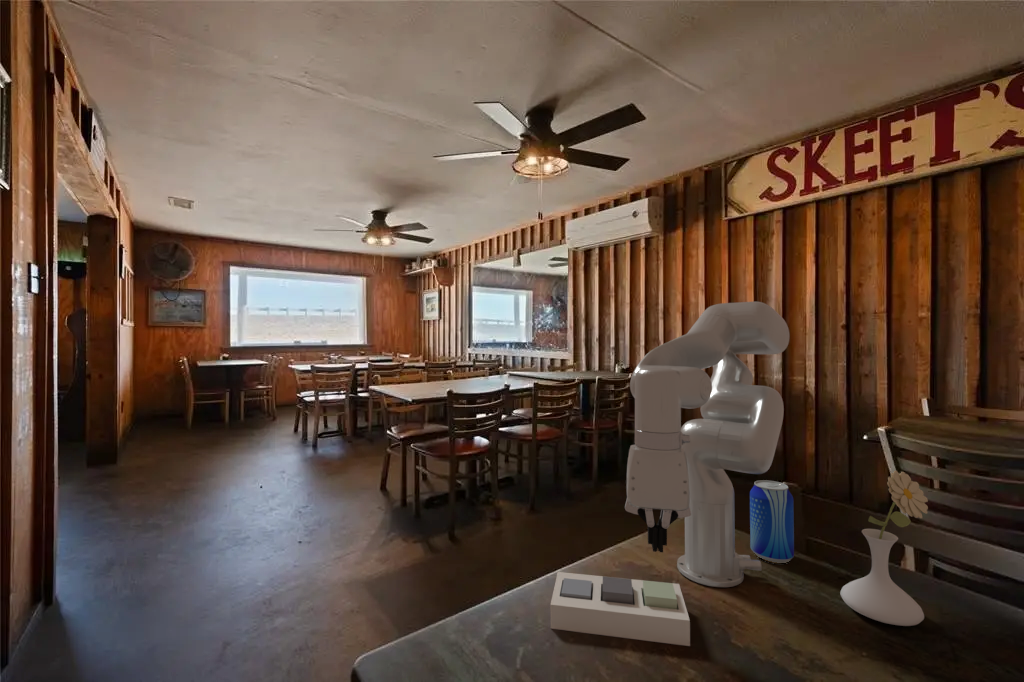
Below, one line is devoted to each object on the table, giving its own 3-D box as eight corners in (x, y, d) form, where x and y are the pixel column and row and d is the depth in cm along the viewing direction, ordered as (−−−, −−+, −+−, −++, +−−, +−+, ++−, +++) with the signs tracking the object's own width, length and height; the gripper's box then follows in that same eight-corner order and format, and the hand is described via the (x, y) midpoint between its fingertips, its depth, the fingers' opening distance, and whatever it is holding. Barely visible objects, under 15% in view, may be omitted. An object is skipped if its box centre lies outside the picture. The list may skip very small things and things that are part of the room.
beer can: (800, 567, 95) (800, 491, 95) (757, 564, 97) (756, 489, 97) (785, 549, 103) (784, 480, 104) (745, 546, 105) (744, 478, 105)
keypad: (679, 606, 81) (679, 583, 82) (690, 646, 71) (689, 620, 71) (557, 592, 86) (557, 571, 86) (550, 628, 75) (550, 604, 75)
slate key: (591, 597, 82) (591, 580, 82) (590, 613, 77) (590, 596, 77) (564, 594, 83) (564, 578, 83) (561, 610, 78) (561, 592, 78)
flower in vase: (872, 633, 74) (870, 480, 74) (825, 594, 85) (824, 462, 85) (954, 634, 73) (952, 480, 73) (896, 595, 85) (895, 462, 85)
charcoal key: (631, 596, 80) (631, 579, 80) (633, 612, 75) (632, 594, 75) (602, 593, 81) (602, 576, 81) (602, 609, 76) (602, 591, 77)
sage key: (672, 600, 79) (672, 583, 79) (677, 617, 74) (676, 599, 74) (643, 597, 80) (642, 580, 80) (645, 613, 75) (645, 595, 75)
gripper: (699, 438, 79) (699, 543, 79) (612, 434, 82) (612, 535, 82) (708, 447, 72) (708, 563, 71) (612, 442, 75) (612, 553, 74)
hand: (657, 548), depth 77 cm, fingers closed
